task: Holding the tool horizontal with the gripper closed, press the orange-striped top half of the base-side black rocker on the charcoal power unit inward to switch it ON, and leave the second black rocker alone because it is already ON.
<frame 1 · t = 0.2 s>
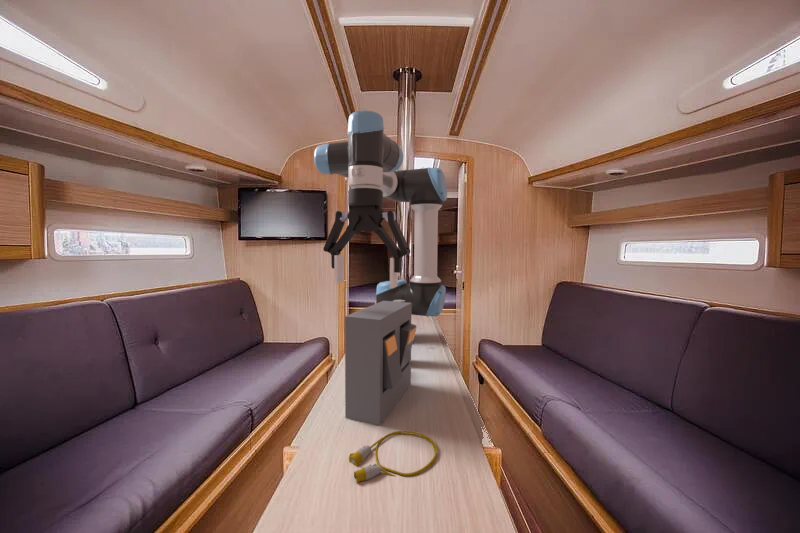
hand: (365, 285, 70), 28 cm above the table, tool pointing down, fingers open, 13 cm apart
extension cord: (394, 458, 54), on the table
sauce bottle: (399, 363, 97), on the table
power unit: (381, 399, 74), on the table
rocker a: (405, 346, 76), point 12 cm above the table, hinge at -12.0°
rocker b: (389, 360, 67), point 12 cm above the table, hinge at 12.0°
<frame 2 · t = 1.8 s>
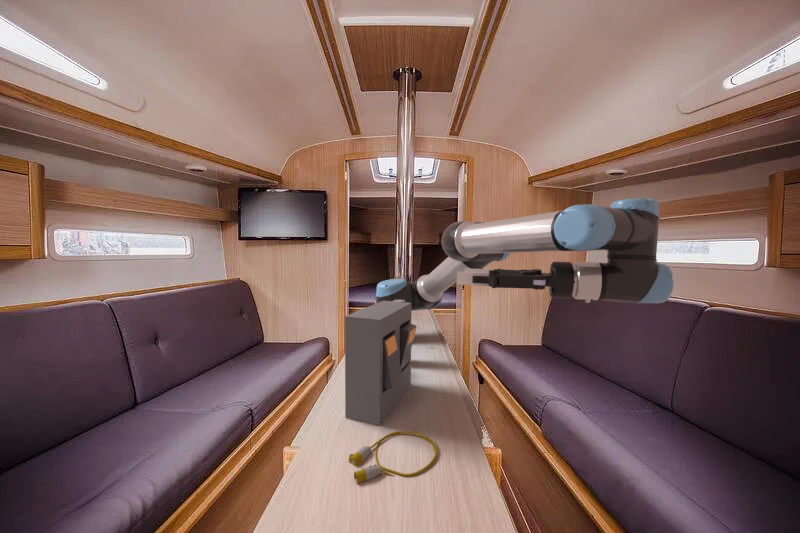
hand: (461, 275, 70), 30 cm above the table, tool horizontal, fingers open, 9 cm apart
nothing on the table moved.
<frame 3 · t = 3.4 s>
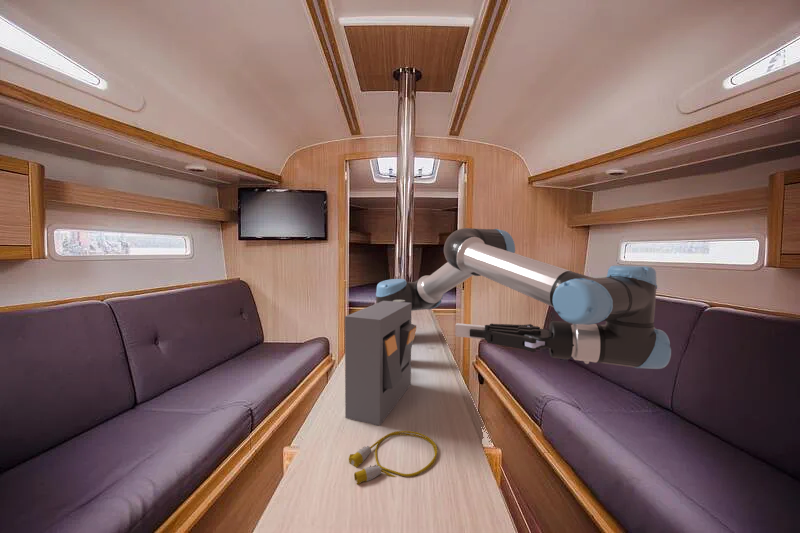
hand: (456, 329, 71), 18 cm above the table, tool horizontal, fingers closed
nothing on the table moved.
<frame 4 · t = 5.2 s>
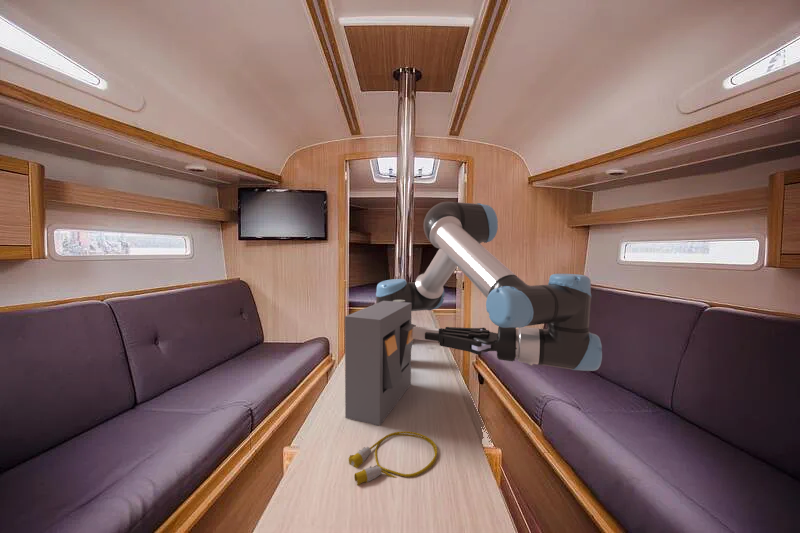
hand: (413, 332, 75), 16 cm above the table, tool horizontal, fingers closed
rocker a: (405, 346, 76), point 12 cm above the table, hinge at -10.4°, touching gripper
everything else where it was.
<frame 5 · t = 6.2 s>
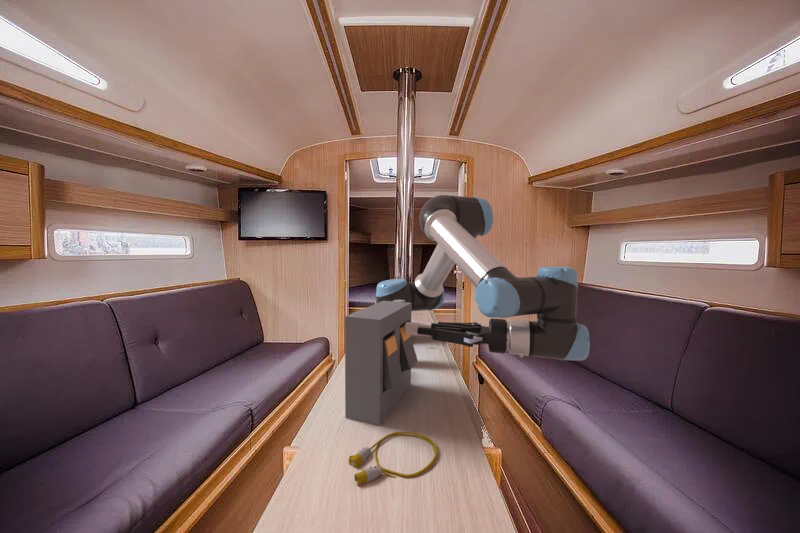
hand: (406, 328, 76), 17 cm above the table, tool horizontal, fingers closed
rocker a: (405, 346, 76), point 12 cm above the table, hinge at 18.1°, touching gripper, power unit
everything else where it was.
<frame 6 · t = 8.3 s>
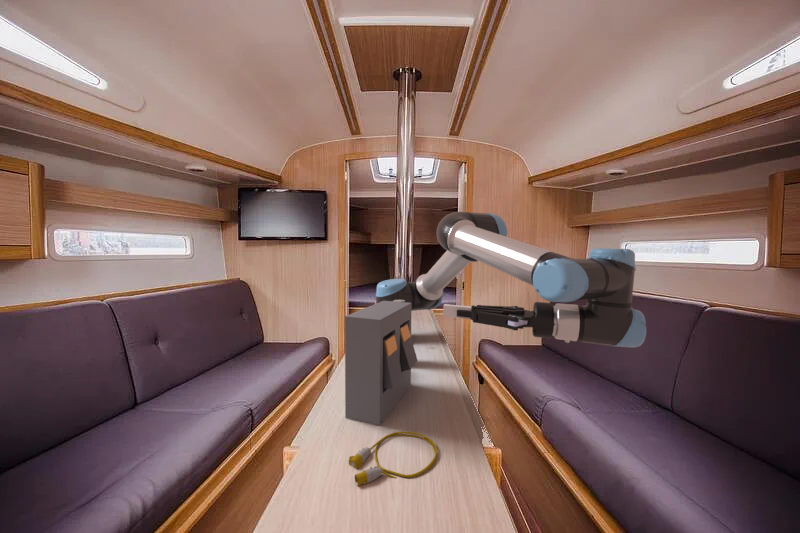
hand: (444, 310, 74), 21 cm above the table, tool horizontal, fingers closed
rocker a: (405, 346, 76), point 12 cm above the table, hinge at 17.8°
everything else where it was.
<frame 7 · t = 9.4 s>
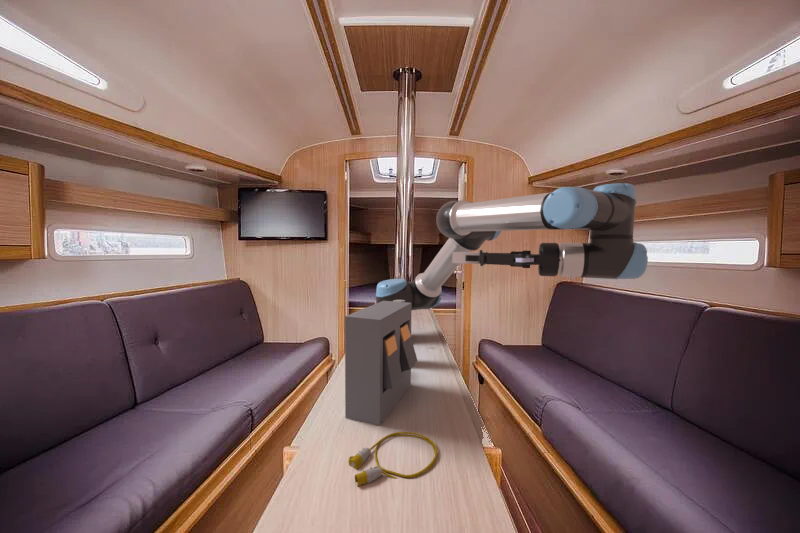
hand: (452, 257, 77), 34 cm above the table, tool horizontal, fingers closed
nothing on the table moved.
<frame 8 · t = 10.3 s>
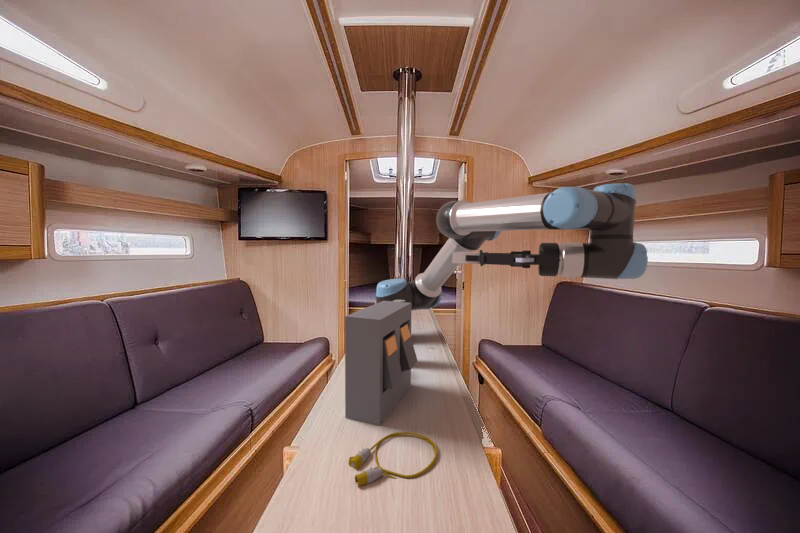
hand: (452, 257, 77), 34 cm above the table, tool horizontal, fingers closed
nothing on the table moved.
at the end: rocker a at +18° (first picture: -12°); rocker b at +12° (first picture: +12°) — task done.
